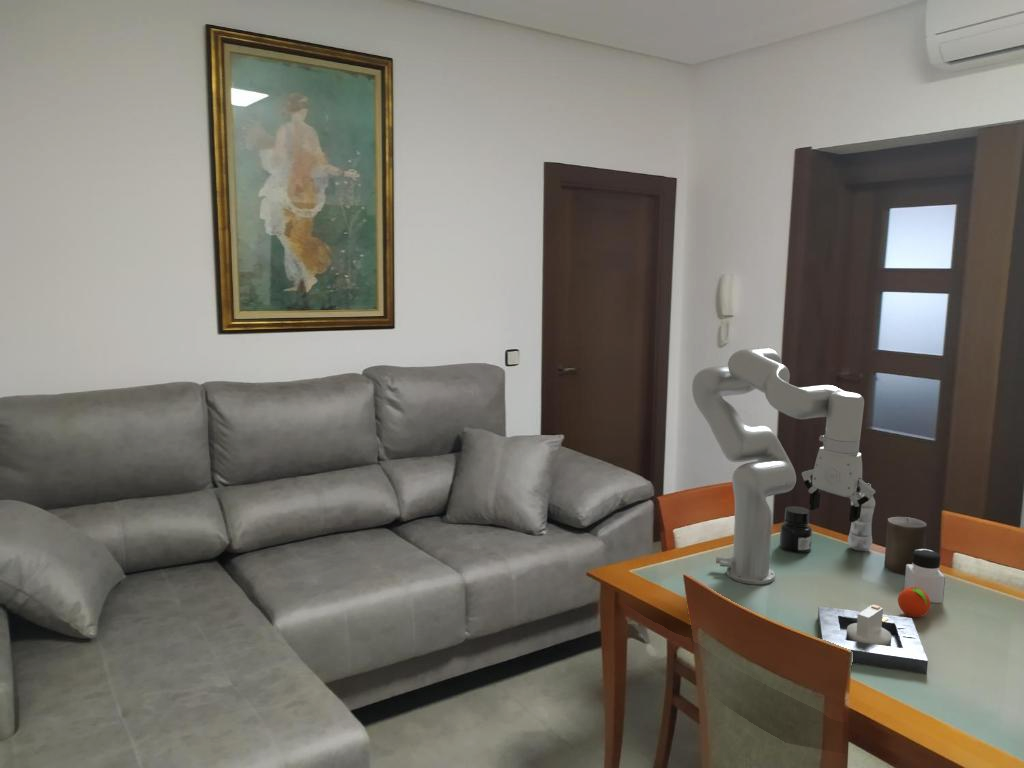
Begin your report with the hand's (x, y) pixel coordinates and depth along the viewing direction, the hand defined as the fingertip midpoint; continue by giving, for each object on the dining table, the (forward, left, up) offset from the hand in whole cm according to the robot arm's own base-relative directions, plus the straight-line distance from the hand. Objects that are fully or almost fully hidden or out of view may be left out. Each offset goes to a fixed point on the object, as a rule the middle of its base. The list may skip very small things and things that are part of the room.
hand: (833, 514), depth 180 cm
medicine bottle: (+24, +18, -25) cm, 39 cm away
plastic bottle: (+12, +48, -25) cm, 56 cm away
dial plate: (+8, -13, -25) cm, 29 cm away
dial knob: (+8, -13, -24) cm, 28 cm away
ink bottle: (-6, +43, -25) cm, 51 cm away
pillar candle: (+22, +36, -25) cm, 49 cm away
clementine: (+20, +5, -25) cm, 33 cm away
